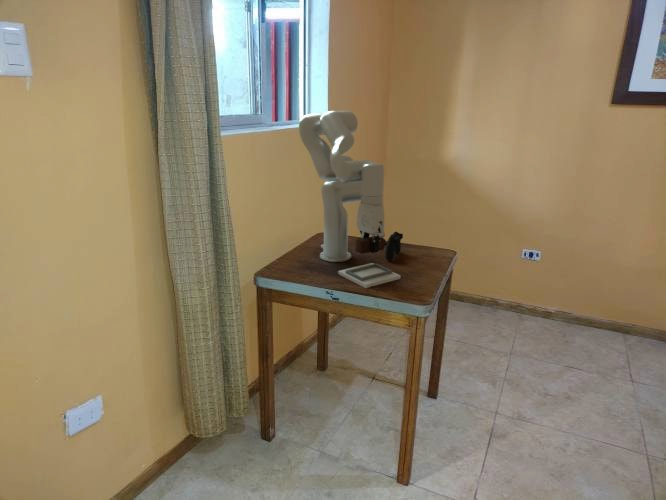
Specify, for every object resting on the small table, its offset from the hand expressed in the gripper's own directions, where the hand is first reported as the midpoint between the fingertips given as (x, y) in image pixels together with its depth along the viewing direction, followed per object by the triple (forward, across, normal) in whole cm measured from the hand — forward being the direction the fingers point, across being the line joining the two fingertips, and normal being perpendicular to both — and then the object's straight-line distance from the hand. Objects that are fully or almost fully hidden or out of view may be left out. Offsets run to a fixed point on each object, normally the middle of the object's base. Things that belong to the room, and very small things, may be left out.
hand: (370, 250), depth 163 cm
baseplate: (+10, 0, 0) cm, 10 cm away
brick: (0, 0, 0) cm, 0 cm away
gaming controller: (+10, -12, +22) cm, 27 cm away
